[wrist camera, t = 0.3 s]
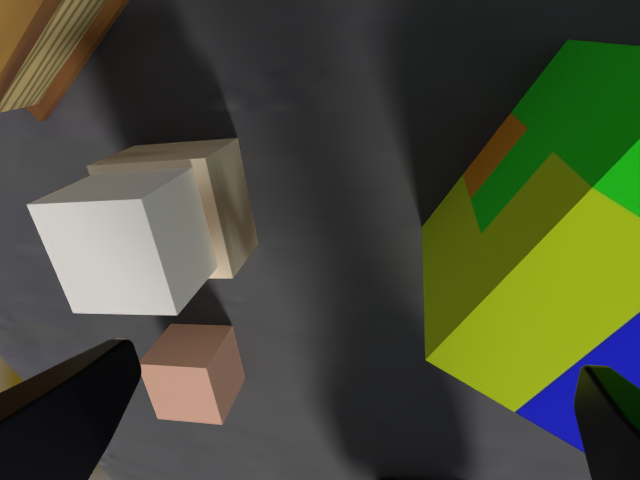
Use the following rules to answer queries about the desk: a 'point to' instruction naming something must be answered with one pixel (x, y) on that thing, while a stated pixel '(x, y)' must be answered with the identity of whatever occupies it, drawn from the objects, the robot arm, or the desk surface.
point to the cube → (193, 373)
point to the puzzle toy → (544, 243)
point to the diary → (48, 48)
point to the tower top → (128, 241)
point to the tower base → (204, 191)
